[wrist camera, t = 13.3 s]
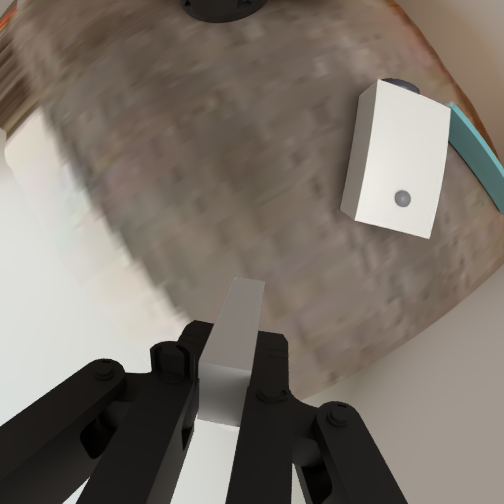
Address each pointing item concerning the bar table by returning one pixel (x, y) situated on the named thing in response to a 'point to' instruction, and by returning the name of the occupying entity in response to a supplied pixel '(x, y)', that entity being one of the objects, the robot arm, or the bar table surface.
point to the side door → (476, 154)
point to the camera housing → (396, 158)
